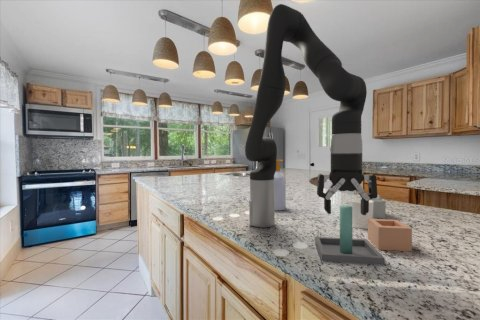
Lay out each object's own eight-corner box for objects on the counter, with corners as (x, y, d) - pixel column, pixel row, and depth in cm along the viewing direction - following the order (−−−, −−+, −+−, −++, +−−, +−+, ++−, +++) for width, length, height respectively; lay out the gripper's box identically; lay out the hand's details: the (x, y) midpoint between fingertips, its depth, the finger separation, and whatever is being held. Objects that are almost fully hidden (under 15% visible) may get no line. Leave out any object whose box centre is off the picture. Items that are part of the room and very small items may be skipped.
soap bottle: (275, 212, 107) (275, 160, 106) (264, 207, 116) (263, 159, 115) (290, 209, 111) (290, 159, 110) (278, 205, 119) (278, 159, 119)
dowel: (341, 253, 60) (341, 207, 60) (338, 249, 63) (338, 205, 63) (353, 254, 60) (353, 208, 59) (350, 249, 63) (350, 205, 62)
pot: (378, 252, 63) (378, 227, 63) (367, 241, 71) (367, 218, 71) (411, 254, 62) (411, 228, 61) (396, 243, 70) (397, 219, 69)
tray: (321, 264, 57) (321, 254, 57) (315, 245, 69) (315, 236, 69) (384, 268, 55) (384, 258, 55) (366, 247, 66) (366, 239, 66)
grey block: (362, 218, 95) (363, 197, 95) (349, 210, 108) (349, 192, 108) (389, 218, 95) (389, 197, 94) (372, 210, 108) (372, 192, 107)
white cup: (377, 232, 79) (377, 203, 78) (351, 231, 80) (351, 202, 80) (369, 225, 86) (369, 198, 86) (346, 224, 88) (346, 197, 88)
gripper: (319, 152, 58) (319, 216, 59) (382, 151, 56) (381, 218, 56) (315, 152, 66) (315, 209, 66) (370, 151, 63) (370, 211, 64)
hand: (345, 213), depth 61 cm, fingers open, 8 cm apart
